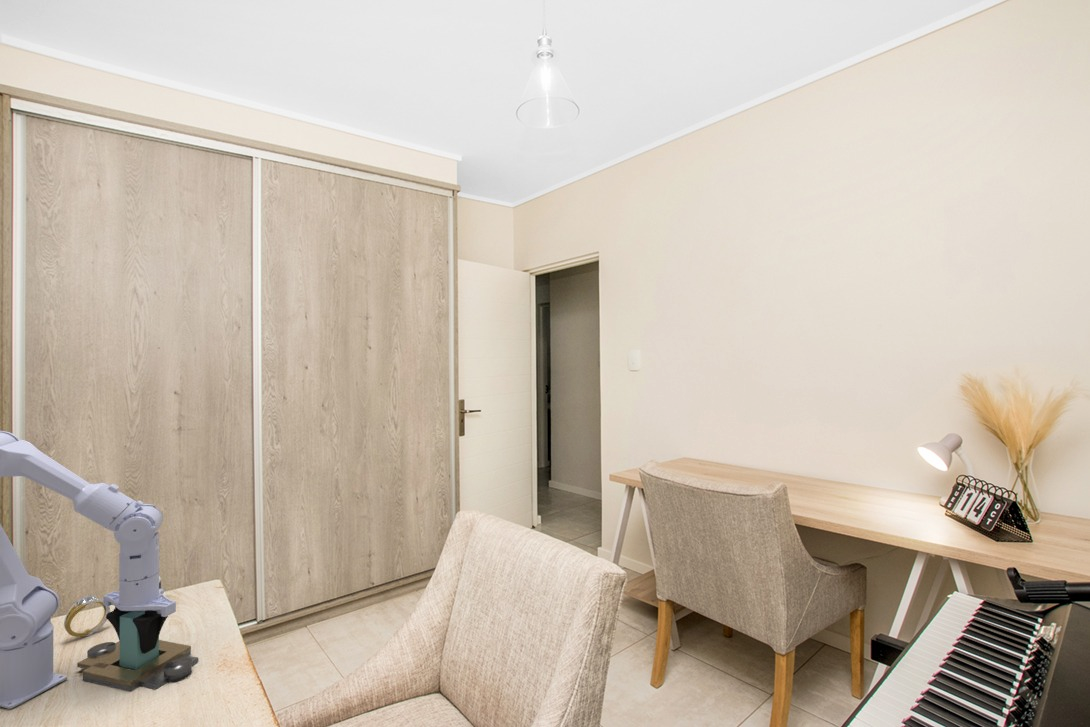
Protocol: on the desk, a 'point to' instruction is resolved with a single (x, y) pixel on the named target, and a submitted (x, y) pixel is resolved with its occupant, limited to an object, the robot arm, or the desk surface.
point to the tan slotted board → (105, 668)
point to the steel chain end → (158, 674)
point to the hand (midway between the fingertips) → (139, 648)
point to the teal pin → (133, 643)
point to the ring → (73, 611)
